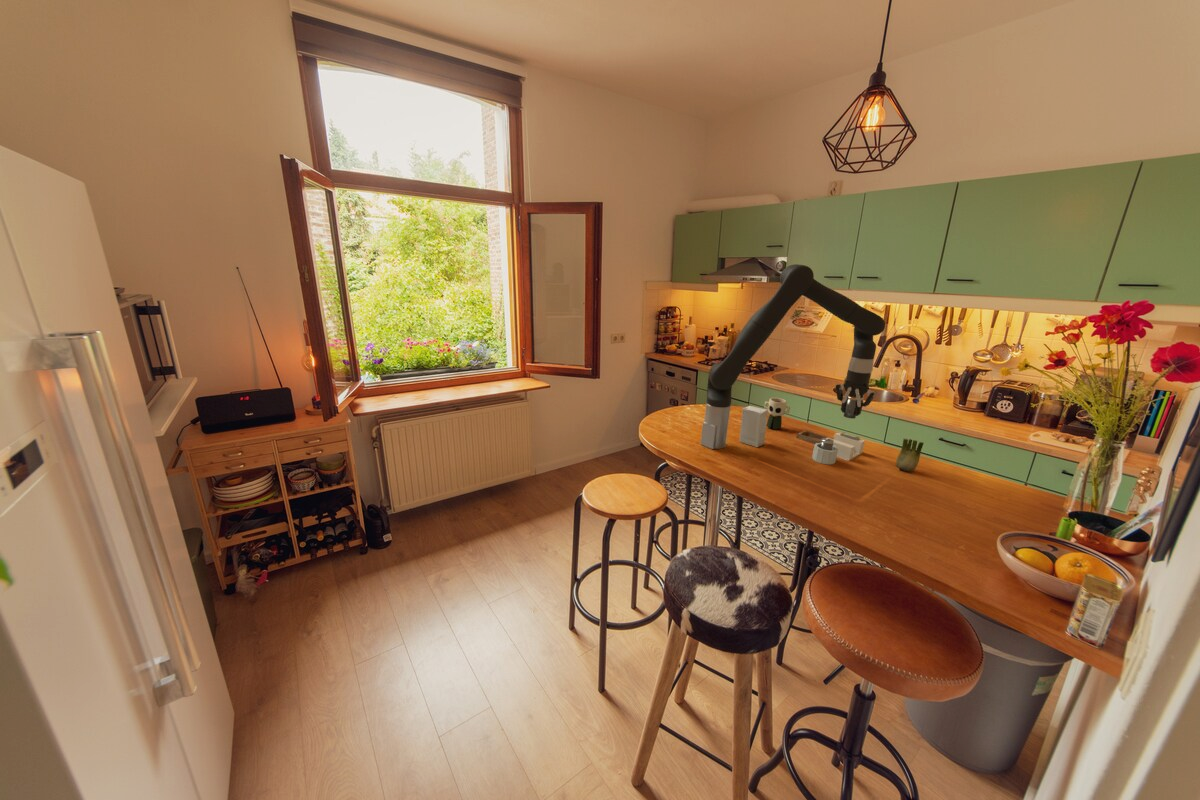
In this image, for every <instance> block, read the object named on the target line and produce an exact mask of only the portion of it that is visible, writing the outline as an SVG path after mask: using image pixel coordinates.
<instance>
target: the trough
mask: <svg viewBox="0 0 1200 800" xmlns="http://www.w3.org/2000/svg"><path fill="white" fill-rule="evenodd" d="M822 438H831V439H833V438H832V437H829V436H825V435H823V434H819V433H817V432H814V431H810V430H807V429H805V430H803V431H800V432H798V433H797V434H796V439H799V440H802V441H805V442H808V443H810V444H814V445H815V444H816V443H821V440H822Z"/></svg>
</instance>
